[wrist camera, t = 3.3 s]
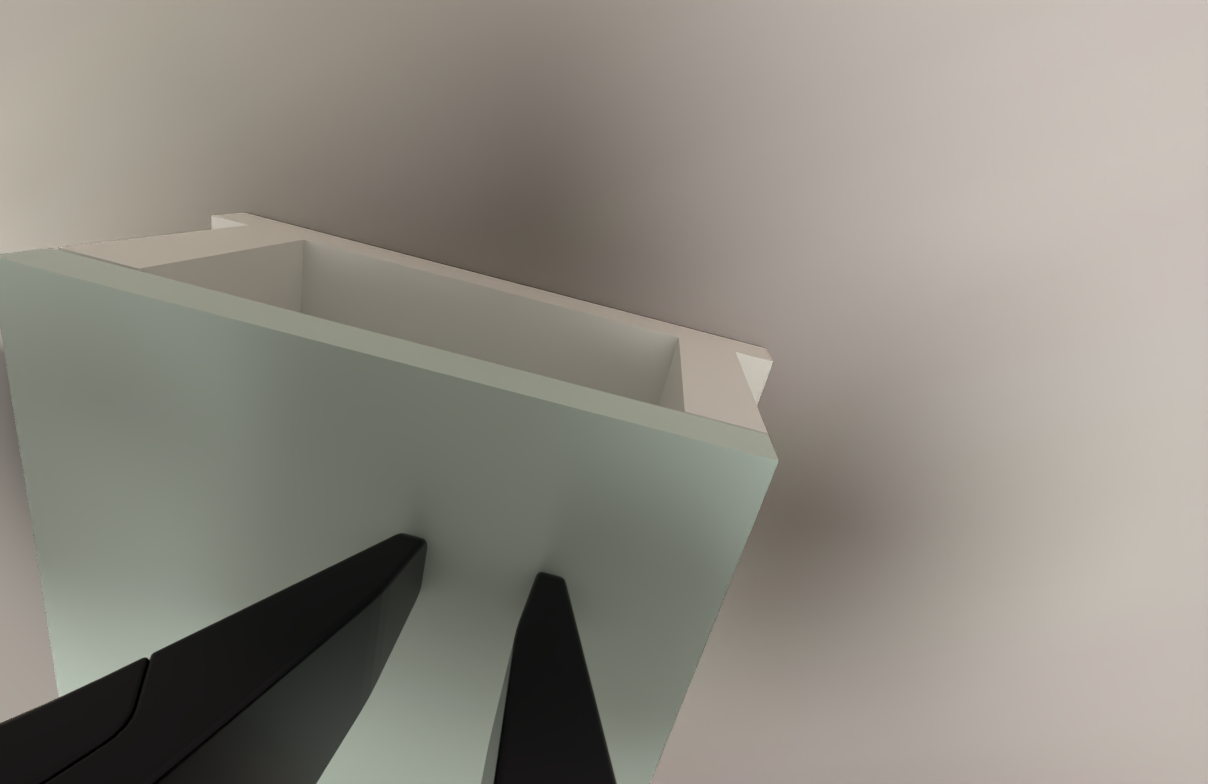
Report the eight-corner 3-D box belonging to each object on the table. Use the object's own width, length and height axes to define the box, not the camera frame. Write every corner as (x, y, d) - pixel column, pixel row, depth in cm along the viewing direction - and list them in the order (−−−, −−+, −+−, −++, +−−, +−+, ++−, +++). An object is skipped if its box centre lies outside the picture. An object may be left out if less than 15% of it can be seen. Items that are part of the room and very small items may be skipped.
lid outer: (609, 847, 11) (605, 894, 11) (105, 715, 12) (67, 752, 11) (767, 434, 8) (779, 460, 7) (50, 247, 8) (-12, 255, 7)
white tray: (572, 882, 20) (544, 1097, 15) (241, 793, 20) (113, 979, 15) (765, 348, 13) (822, 447, 8) (244, 212, 13) (4, 232, 8)
